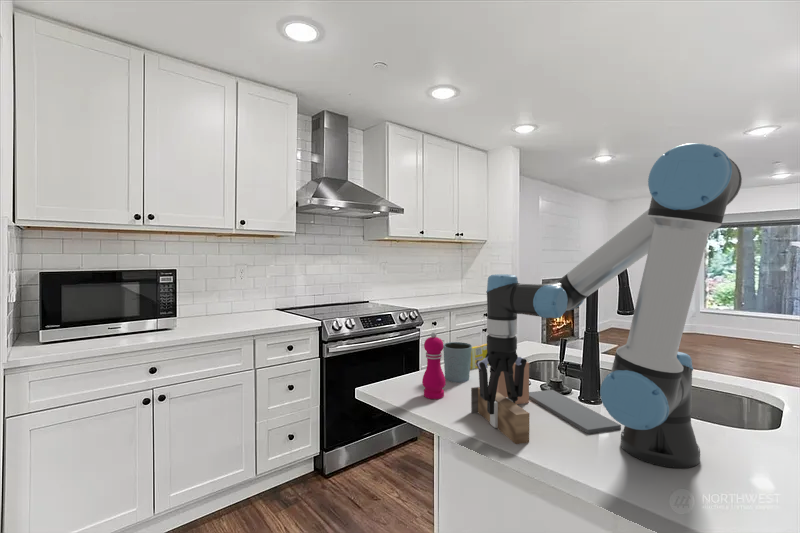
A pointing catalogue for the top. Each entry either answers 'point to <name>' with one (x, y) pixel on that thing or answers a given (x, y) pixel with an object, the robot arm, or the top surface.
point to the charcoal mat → (573, 412)
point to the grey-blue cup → (457, 361)
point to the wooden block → (504, 416)
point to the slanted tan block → (525, 397)
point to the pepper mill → (433, 368)
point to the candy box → (478, 355)
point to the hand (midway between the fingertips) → (501, 424)
